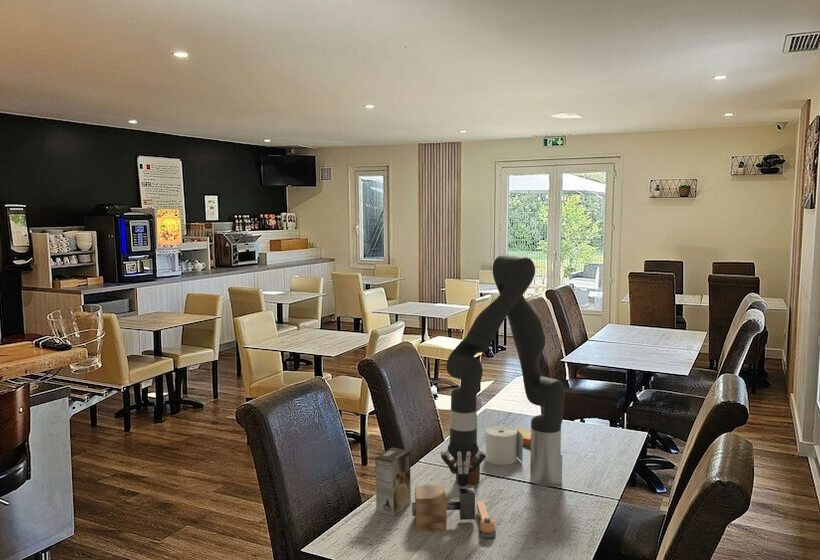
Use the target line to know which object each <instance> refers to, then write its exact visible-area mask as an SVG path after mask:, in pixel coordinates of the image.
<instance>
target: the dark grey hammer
mask: <svg viewBox="0 0 820 560" xmlns="http://www.w3.org/2000/svg"><path fill="white" fill-rule="evenodd" d="M411 511H412V512H411V513H412V517H415V516H416V503H415V502H411ZM447 511H458V516H459V520H461V521H467V520H469V521H470V520H476V492H475V489H474V488H473V487H471V488H465V487H464V488H458V501H447Z"/></svg>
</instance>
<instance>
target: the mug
mask: <svg viewBox="0 0 820 560" xmlns="http://www.w3.org/2000/svg"><path fill="white" fill-rule="evenodd" d="M476 454H477V453H476ZM475 458H476V455H475V456H474V457H473V459H472V460H471V461H470V465H471V463H472V462H473V461H474V460H475ZM450 460H451V461H452V463H453V464H454V465H455V466H457V461H456V460H455V459H454V458H453V457H452V459H450ZM463 465H464V461H463V462H462V471H463ZM470 465H469V466H470ZM448 468H449V467H448ZM449 471H450V473H451V474H454V475H455V480H456V481H457V472H452V470H451V469H450V468H449ZM480 475H481V464H480V465H479V466H478V467H477V469H476V470H475V471H474V472H469V473H468V484H467V485H466V486H473V485H474V486H475V485H476V484H478V483H479V482H480V478H481V477H480Z"/></svg>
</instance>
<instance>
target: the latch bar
mask: <svg viewBox="0 0 820 560" xmlns="http://www.w3.org/2000/svg"><path fill="white" fill-rule="evenodd" d="M476 509H477V512H478V516H479V519H480V525H479V526H480V528H479V529H480V530H481V532H483V533H486V534H490V533H493V532H494V529H495V521H494V519H492V518H490V516H489V513H488V510H487V506H486V504H485V502H484V501H483V500H479V501H477V500H476Z"/></svg>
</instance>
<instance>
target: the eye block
mask: <svg viewBox="0 0 820 560" xmlns="http://www.w3.org/2000/svg"><path fill="white" fill-rule="evenodd" d="M414 501H415V502H414V503H416V516H414V517H415V525H416V532H422V531H424V532H425V531H426V532H427V531H430V532H431V531H447V526H448V525H447V523H448V522H447V515H448V514H447V513H448V510H447V502H448V501H447V494H446V490H445V484H434V485H433V484H432V485H431V484H430V485H429V484H428V485H414Z"/></svg>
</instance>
